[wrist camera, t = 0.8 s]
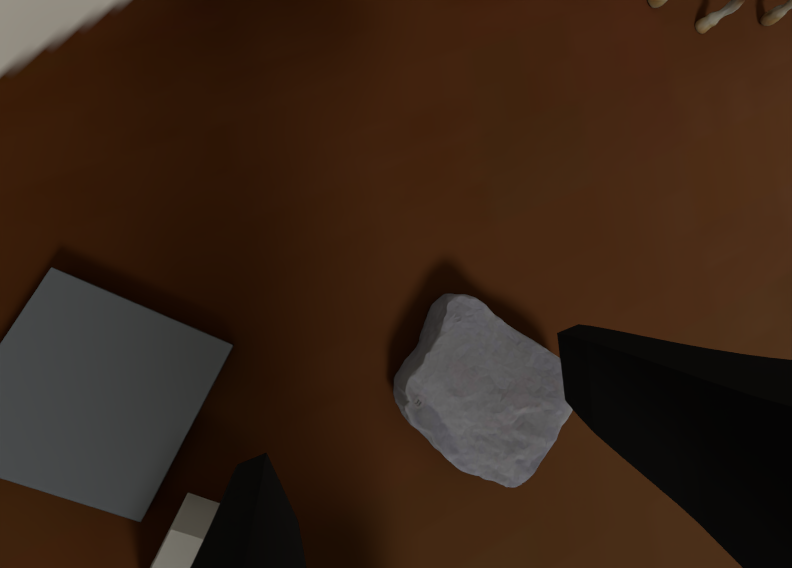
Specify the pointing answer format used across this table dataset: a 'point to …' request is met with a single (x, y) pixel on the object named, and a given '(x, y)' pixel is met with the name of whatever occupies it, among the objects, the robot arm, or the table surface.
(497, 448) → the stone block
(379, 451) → the table surface
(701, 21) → the brown animal figure
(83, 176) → the table surface
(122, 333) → the slate tile
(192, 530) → the cube
